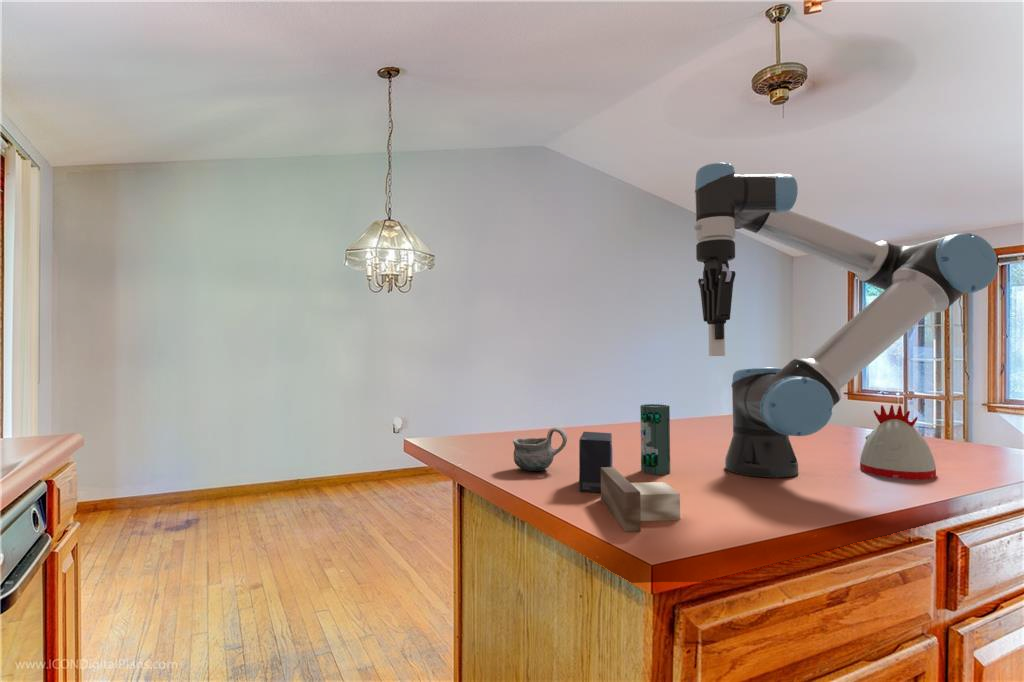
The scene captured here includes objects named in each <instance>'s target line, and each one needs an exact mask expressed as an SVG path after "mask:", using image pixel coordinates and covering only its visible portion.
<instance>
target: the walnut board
mask: <svg viewBox="0 0 1024 682" xmlns="http://www.w3.org/2000/svg"><path fill="white" fill-rule="evenodd" d="M631 483H632V482H630V481H629V480H628V478H625V476H624V475H623V474H622V473H620V472H619V470H617V469H616V468H615V467H614V466H612V467H601V492H600V501H601V502H602V503H603V504H604V506H605V507H606V508H607V510H608V511H609V512H610V514H611V515H612V516H613V518H615V520H616V521H617V523H618V524H619V525H620V526H621V528H622V529H623V530H624V531H625V532H642V528H641V527H642V526H641V525H642V524H641V522H642V521H641V506H640V491H639V490H638V489H636V488H635V487H634V486H633V485H632V484H631Z"/></svg>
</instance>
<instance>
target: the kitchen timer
mask: <svg viewBox="0 0 1024 682" xmlns="http://www.w3.org/2000/svg"><path fill="white" fill-rule="evenodd" d="M894 408H895V407H894V405H893V404H891V405H890V408H889V411H888V413H887V412H886V409H885V407H884V405H883V404H882V405H881V406H880V413H878V412H877V411H876V410H875V409H873V413H874V416H875V418H876V419H877V420H878V423H879V424H878V425H877V426H876V427H874V429H872V431H871V432H870V433H869V434H868V435H866V436H865V442H864V445H863V448H862V451H861V453H860V457H859V469H860V471H862V472H864V473H866V474H869V475H873V476H878V477H885V478H891V479H901V480H931V479H935V478H936V477H937V468H936V462H935V459H934V456H933V453H932V450H931V448H930V446H929V443H928V442H927V440H926V439H925V437H924V436H923V434H922V433H921V432H920V431H919V430H918V429H917V428H916V427H915V426H914V425H915V424H916V423H917V420H918V419H919V418H918V416H916V417H914V419H913V420H912V421H909V416H910V413H911V411H910V410H908V411H906V412H905V414H903V410H902V409H903V408H902V405H898V407H897V411H896V413H895V410H894Z"/></svg>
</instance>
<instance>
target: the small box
mask: <svg viewBox="0 0 1024 682" xmlns="http://www.w3.org/2000/svg"><path fill="white" fill-rule="evenodd" d="M578 445H579V447H578V449H579V453H578V454H579V455H578V457H579V460H578V461H579V467H578V469H579V471H578V472H579V473H578V474H579V476H578V478H579V479H578V491H579V492H584V493H586V492H587V493H601V467H613V433H611V432H600V431H599V432H598V431H583V432H582V434H581V436H580V438H579V444H578Z"/></svg>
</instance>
